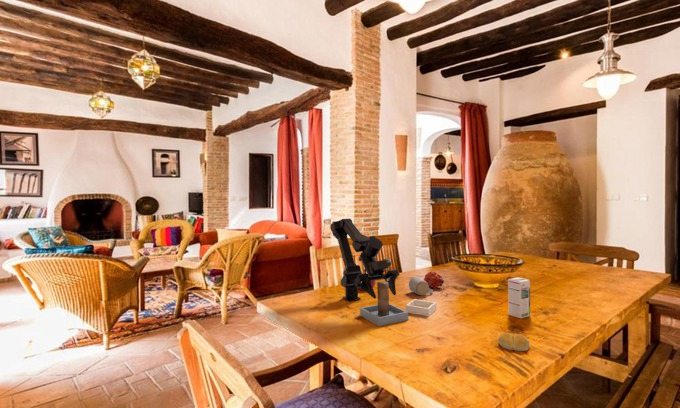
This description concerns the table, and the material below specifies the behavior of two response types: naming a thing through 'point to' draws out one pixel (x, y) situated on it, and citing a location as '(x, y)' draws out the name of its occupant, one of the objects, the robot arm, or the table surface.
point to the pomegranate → (371, 283)
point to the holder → (421, 307)
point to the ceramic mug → (419, 286)
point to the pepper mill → (383, 298)
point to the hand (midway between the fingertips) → (385, 296)
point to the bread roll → (514, 342)
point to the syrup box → (519, 297)
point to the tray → (393, 317)
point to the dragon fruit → (434, 279)
